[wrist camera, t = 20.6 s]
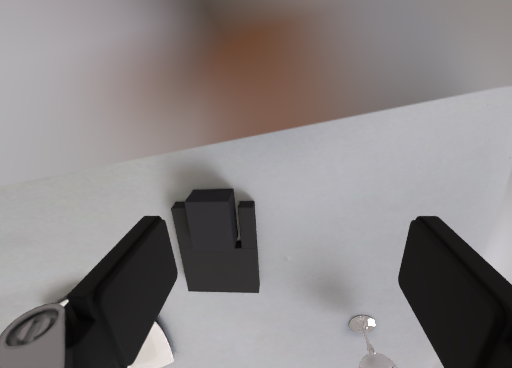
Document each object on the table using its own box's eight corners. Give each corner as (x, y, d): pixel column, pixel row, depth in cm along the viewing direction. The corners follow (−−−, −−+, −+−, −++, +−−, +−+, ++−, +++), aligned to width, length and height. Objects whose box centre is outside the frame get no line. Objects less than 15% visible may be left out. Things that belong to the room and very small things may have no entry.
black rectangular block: (193, 189, 37) (184, 202, 33) (233, 189, 36) (228, 201, 32) (201, 235, 40) (193, 251, 36) (238, 235, 39) (234, 251, 36)
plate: (134, 275, 44) (128, 283, 43) (190, 357, 52) (187, 367, 50) (37, 300, 49) (28, 308, 47) (102, 372, 57) (96, 381, 55)
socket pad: (176, 201, 38) (170, 208, 36) (254, 200, 37) (253, 207, 35) (192, 282, 44) (188, 291, 42) (259, 283, 43) (258, 293, 41)
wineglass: (377, 335, 45) (409, 417, 34) (344, 335, 46) (366, 415, 35) (380, 312, 43) (415, 392, 32) (345, 312, 44) (368, 391, 33)
